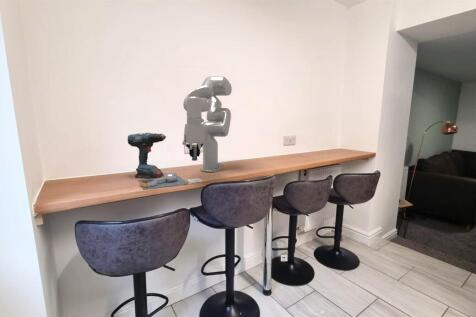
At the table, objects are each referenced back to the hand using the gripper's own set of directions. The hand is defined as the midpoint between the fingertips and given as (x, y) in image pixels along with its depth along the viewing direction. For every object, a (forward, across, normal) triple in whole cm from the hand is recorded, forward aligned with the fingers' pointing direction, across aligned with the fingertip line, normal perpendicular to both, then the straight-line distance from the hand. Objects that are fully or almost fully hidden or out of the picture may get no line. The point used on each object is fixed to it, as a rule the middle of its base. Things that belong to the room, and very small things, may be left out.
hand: (194, 156), depth 126 cm
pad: (+14, 0, 0) cm, 14 cm away
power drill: (+14, +19, -21) cm, 32 cm away
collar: (+13, +18, -4) cm, 22 cm away
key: (+2, 0, 0) cm, 2 cm away
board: (+14, +16, -6) cm, 22 cm away
